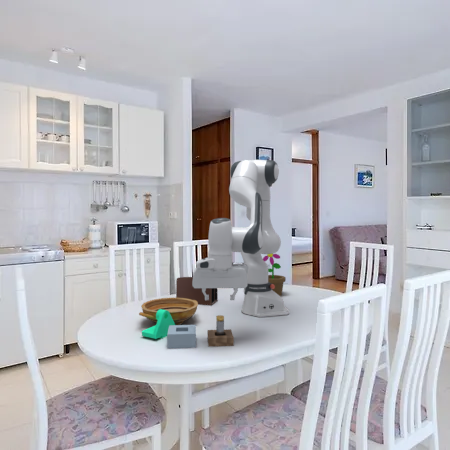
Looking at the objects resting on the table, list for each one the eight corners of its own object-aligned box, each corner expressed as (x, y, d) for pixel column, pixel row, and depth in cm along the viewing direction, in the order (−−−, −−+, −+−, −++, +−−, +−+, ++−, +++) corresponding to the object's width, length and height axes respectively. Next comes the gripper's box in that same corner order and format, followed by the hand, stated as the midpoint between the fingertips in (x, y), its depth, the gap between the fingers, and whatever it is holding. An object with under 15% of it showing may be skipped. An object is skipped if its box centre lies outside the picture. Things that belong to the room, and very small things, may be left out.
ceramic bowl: (159, 337, 140) (158, 317, 140) (124, 324, 157) (124, 305, 157) (214, 320, 162) (214, 302, 161) (178, 310, 178) (178, 293, 178)
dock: (195, 337, 140) (195, 324, 140) (195, 347, 130) (195, 333, 130) (169, 338, 140) (169, 325, 139) (167, 348, 130) (167, 334, 129)
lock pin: (223, 340, 138) (223, 315, 137) (224, 342, 135) (224, 317, 134) (216, 340, 137) (216, 315, 137) (216, 343, 135) (216, 317, 134)
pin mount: (231, 337, 141) (231, 329, 141) (233, 345, 132) (233, 337, 132) (207, 337, 140) (207, 330, 140) (208, 346, 131) (208, 338, 131)
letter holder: (211, 306, 186) (211, 278, 186) (175, 303, 192) (175, 276, 192) (217, 301, 196) (217, 275, 195) (183, 298, 202) (183, 273, 201)
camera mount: (160, 329, 151) (160, 304, 150) (175, 332, 147) (175, 306, 147) (140, 338, 140) (140, 311, 140) (156, 341, 137) (155, 314, 136)
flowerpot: (255, 295, 207) (256, 242, 206) (266, 291, 220) (267, 240, 218) (279, 299, 200) (279, 244, 198) (289, 293, 212) (289, 242, 211)
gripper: (247, 261, 139) (246, 297, 139) (192, 261, 137) (192, 298, 137) (249, 263, 132) (248, 301, 133) (192, 263, 131) (192, 302, 131)
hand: (219, 300), depth 135 cm, fingers open, 8 cm apart
